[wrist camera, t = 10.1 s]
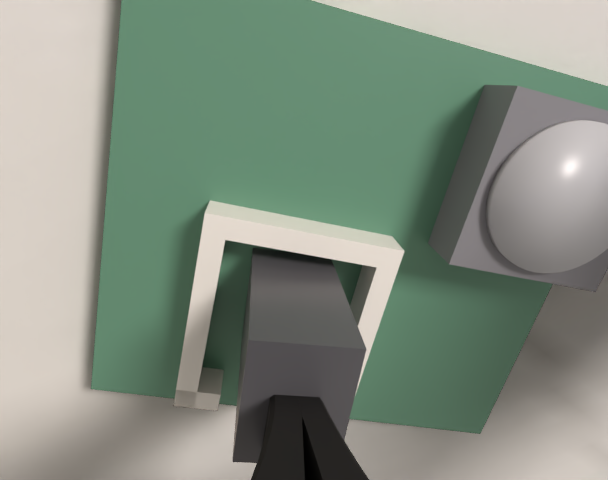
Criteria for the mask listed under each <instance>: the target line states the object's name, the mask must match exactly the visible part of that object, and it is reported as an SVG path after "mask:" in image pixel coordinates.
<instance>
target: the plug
mask: <svg viewBox="0 0 608 480" xmlns="http://www.w3.org/2000/svg"><path fill="white" fill-rule="evenodd" d="M365 353H366V347H365V344H364V341H363V339H362V336H361V334H360V331H359V329H358V326H357V323H356V321H355V318H354V316H353V313H352V311H351V308H350V306H349V303H348V300H347V298H346V295H345V293H344V290H343V288H342V285H341V282H340V280H339V277H338V275H337V272H336V270H335V267H334V264H333V262H332V259H328V258H322V257H317V256H311V255H306V254H300V253H295V252H287V251H278V250H269V249H260V248H253V251H252V259H251V267H250V275H249V283H248V291H247V299H246V307H245V315H244V323H243V331H242V341H241V354H240V368H239V382H238V395H237V409H236V422H235V436H234V449H233V462H250V463H257V462H258V459H259V456H260V452H261V449H262V444H263V438H264V431H265V425H266V419H267V413H268V406H269V400H270V397H272V396H273V395H291V396H309V397H320V399H321V400H322V401H323V403H324V405H325V407H326V409H327V411H328V413H329V415H330V417H331V418H332V420H333V422H334V424H335V426H336V428H337V429H338V431H339V433H340V435H341V436H342V438H343V440H344V438H345V434H346V430H347V426H348V422H349V418H350V414H351V410H352V406H353V402H354V398H355V394H356V390H357V385H358V381H359V377H360V373H361V369H362V365H363V361H364V357H365Z"/></svg>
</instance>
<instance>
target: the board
mask: <svg viewBox="0 0 608 480" xmlns="http://www.w3.org/2000/svg"><path fill="white" fill-rule="evenodd" d="M253 248H260V249H269V250H278V251H287V252H295V253H300V254H306V255H311V256H317V257H322V258H328V259H332V262H333V264H334V267H335V270H336V272H337V275H338V277H339V280H340V282H341V285H342V288H343V290H344V293H345V295H346V298H347V300H348V303H349V306H350V308H351V311H352V313H353V316H354V318H355V321H356V323H357V326H358V329H359V331H360V334H361V336H362V339H363V341H364V344H365V347H366V353H365V357H364V361H363V365H362V369H361V373H360V377H359V381H358V385H357V390H356V394H355V398H354V402H353V406H352V410H351V414H350V418H349V419H356V420H364V421H373V422H382V423H391V424H399V425H408V426H417V427H425V428H434V429H443V430H451V431H460V432H469V433H477V434H480V433H481V431H482V429H483V427H484V425H485V423H486V421H487V419H488V417H489V415H490V412H491V410H492V408H493V406H494V404H495V402H496V400H497V398H498V396H499V394H500V392H501V390H502V388H503V386H504V384H505V381H506V379H507V377H508V375H509V373H510V371H511V369H512V367H513V365H514V363H515V361H516V359H517V357H518V355H519V353H520V350H521V348H522V346H523V344H524V342H525V340H526V338H527V336H528V334H529V332H530V330H531V328H532V326H533V324H534V322H535V319H536V317H537V315H538V313H539V311H540V309H541V307H542V305H543V303H544V301H545V299H546V297H547V295H548V293H549V291H550V289H551V286H552V284H556V285H561V286H566V287H572V288H577V289H582V290H587V291H593V292H596V290H597V288H598V286H599V284H600V282H601V280H602V278H603V277H604V275H605V273H606V271H607V269H608V86H605V85H601V84H598V83H594V82H591V81H587V80H584V79H580V78H577V77H573V76H570V75H567V74H563V73H560V72H556V71H553V70H549V69H546V68H542V67H539V66H536V65H532V64H529V63H525V62H522V61H518V60H515V59H511V58H508V57H504V56H501V55H498V54H494V53H491V52H487V51H484V50H480V49H477V48H473V47H470V46H466V45H463V44H460V43H456V42H453V41H449V40H446V39H442V38H439V37H435V36H432V35H429V34H425V33H422V32H418V31H415V30H411V29H408V28H404V27H401V26H397V25H394V24H391V23H387V22H384V21H380V20H377V19H373V18H370V17H366V16H363V15H359V14H356V13H353V12H349V11H346V10H342V9H339V8H335V7H332V6H328V5H325V4H322V3H318V2H315V1H311V0H122V1H121V14H120V27H119V40H118V52H117V65H116V78H115V90H114V103H113V116H112V129H111V141H110V154H109V167H108V180H107V192H106V205H105V218H104V231H103V243H102V256H101V269H100V281H99V294H98V307H97V320H96V332H95V345H94V358H93V371H92V383H91V389H95V390H104V391H113V392H121V393H130V394H139V395H148V396H156V397H165V398H174V405H173V406H178V407H186V408H195V409H204V410H213V411H217V410H218V405H219V404H226V405H234V406H237V395H238V382H239V368H240V354H241V341H242V331H243V323H244V315H245V307H246V299H247V291H248V283H249V275H250V267H251V259H252V251H253Z"/></svg>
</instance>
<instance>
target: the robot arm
mask: <svg viewBox="0 0 608 480" xmlns="http://www.w3.org/2000/svg"><path fill="white" fill-rule="evenodd" d="M251 480H369V479H368V478H367V476H366V475H365V473H364V472H363V470H362V469H361V467H360V466H359V464H358V462H357V461H356V459H355V458H354V456H353V454H352V453H351V451H350V450H349V448H348V446H347V445H346V443H345V441H344V440H343V438H342V436H341V435H340V433H339V431H338V429H337V428H336V426H335V424H334V422H333V420H332V418H331V417H330V415H329V413H328V411H327V409H326V407H325V405H324V403H323V401H322V400H321V399H320V397H309V396H291V395H273V396H272V397H270V400H269V406H268V413H267V419H266V425H265V431H264V438H263V444H262V449H261V452H260V456H259V459H258V462H257V465H256V467H255V470H254V473H253V476H252V478H251Z"/></svg>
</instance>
